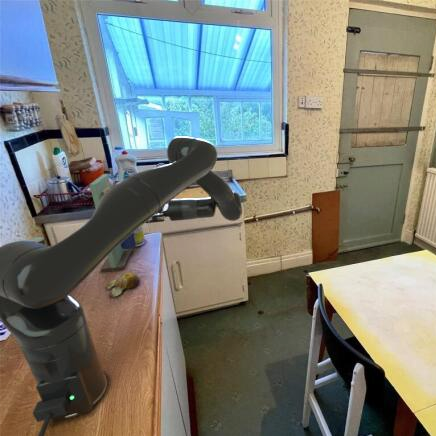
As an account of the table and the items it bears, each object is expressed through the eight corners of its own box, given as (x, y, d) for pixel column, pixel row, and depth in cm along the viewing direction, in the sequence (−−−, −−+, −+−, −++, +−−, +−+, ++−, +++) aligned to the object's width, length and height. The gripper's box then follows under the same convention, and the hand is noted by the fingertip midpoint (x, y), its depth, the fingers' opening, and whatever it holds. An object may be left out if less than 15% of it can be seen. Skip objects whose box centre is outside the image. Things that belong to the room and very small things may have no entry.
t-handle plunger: (124, 241, 103) (111, 181, 94) (138, 240, 104) (126, 180, 95) (118, 252, 96) (103, 188, 87) (133, 250, 97) (120, 187, 88)
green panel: (144, 250, 108) (129, 173, 96) (137, 268, 97) (119, 183, 86) (112, 254, 105) (92, 174, 93) (101, 272, 95) (77, 184, 83)
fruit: (106, 284, 88) (104, 274, 87) (136, 275, 93) (133, 266, 92) (111, 298, 83) (109, 288, 81) (142, 288, 88) (140, 278, 86)
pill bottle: (128, 241, 114) (122, 216, 110) (145, 238, 117) (140, 213, 113) (127, 248, 109) (121, 222, 105) (145, 245, 112) (140, 219, 107)
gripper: (184, 192, 105) (135, 195, 101) (181, 206, 92) (125, 210, 88) (186, 211, 108) (139, 214, 104) (184, 227, 95) (130, 231, 91)
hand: (133, 212), depth 96 cm, fingers open, 8 cm apart
